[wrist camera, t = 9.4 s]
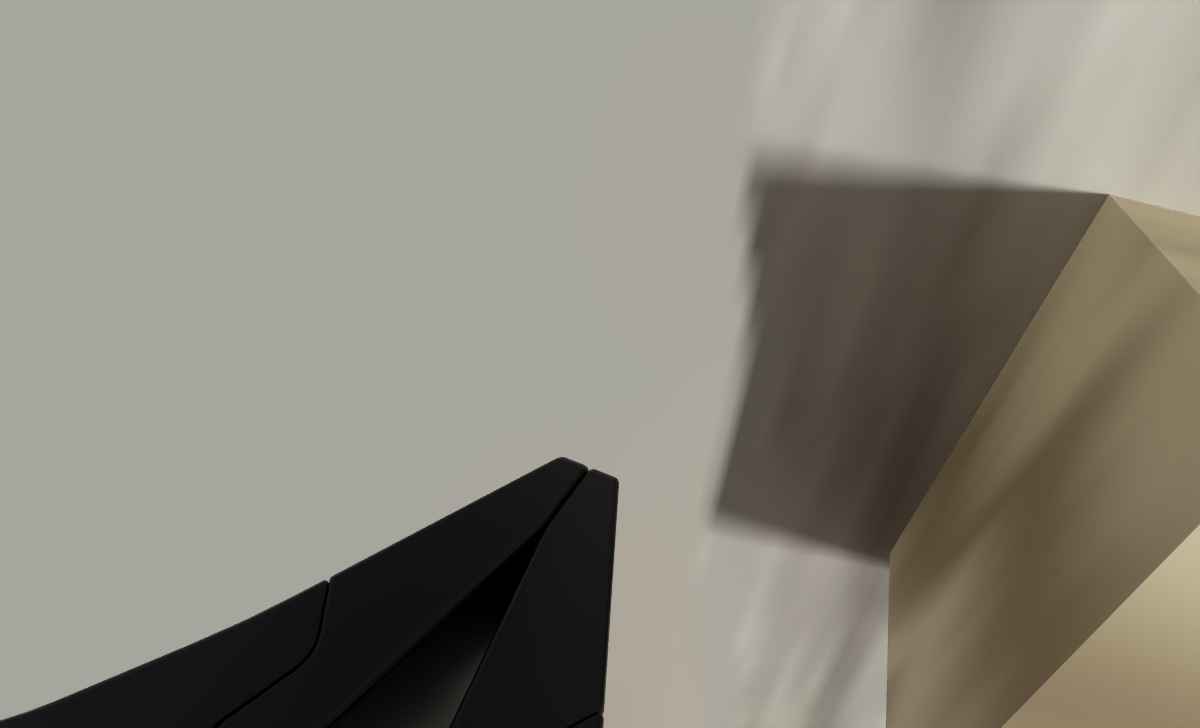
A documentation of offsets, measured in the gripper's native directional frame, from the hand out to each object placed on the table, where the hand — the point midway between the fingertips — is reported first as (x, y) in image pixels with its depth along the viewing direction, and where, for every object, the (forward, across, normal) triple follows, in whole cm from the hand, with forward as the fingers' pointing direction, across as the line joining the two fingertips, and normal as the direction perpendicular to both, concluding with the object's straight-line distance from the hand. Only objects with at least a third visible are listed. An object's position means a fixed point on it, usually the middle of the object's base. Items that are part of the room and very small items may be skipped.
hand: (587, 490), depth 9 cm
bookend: (+5, -8, 0) cm, 9 cm away
